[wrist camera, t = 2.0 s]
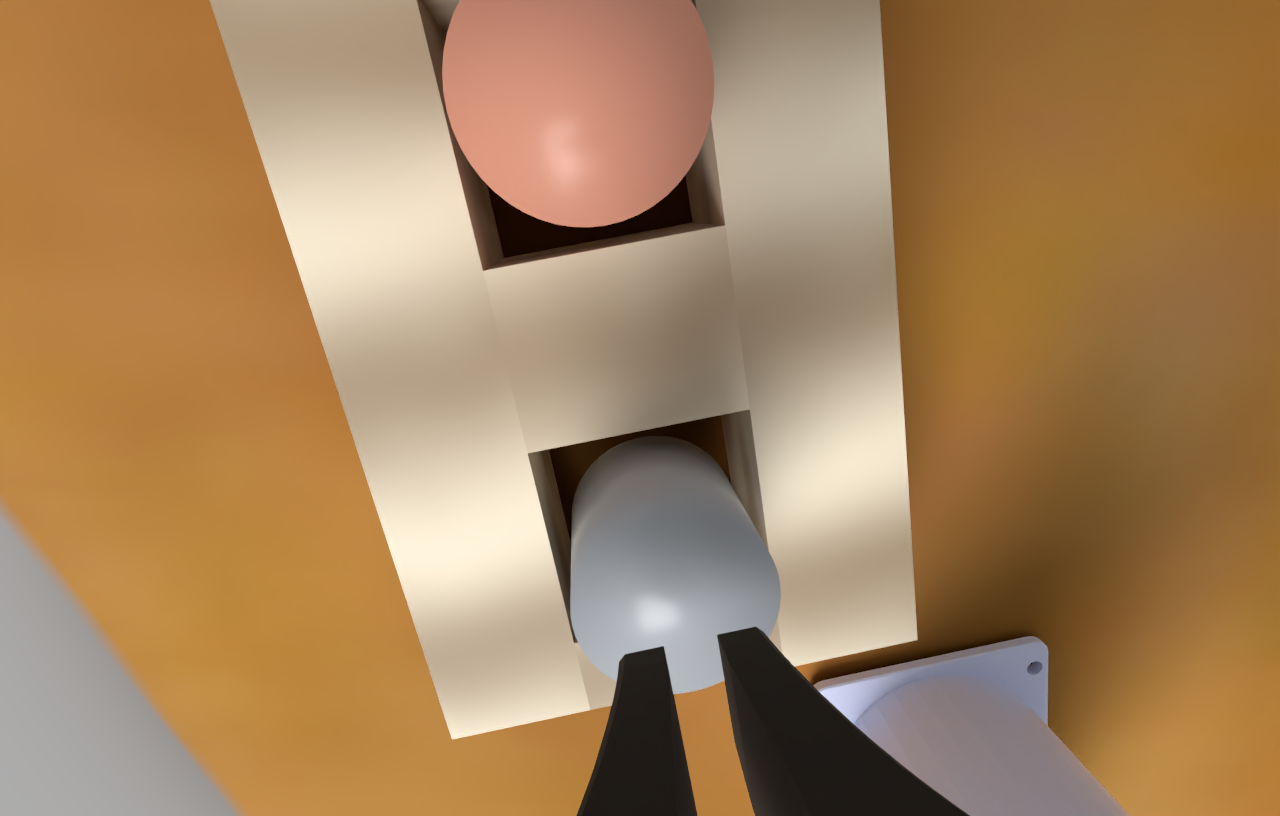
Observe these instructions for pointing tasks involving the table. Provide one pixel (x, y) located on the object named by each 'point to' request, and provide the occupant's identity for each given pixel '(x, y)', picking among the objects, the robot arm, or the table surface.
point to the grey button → (665, 561)
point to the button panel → (597, 330)
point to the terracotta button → (579, 102)
